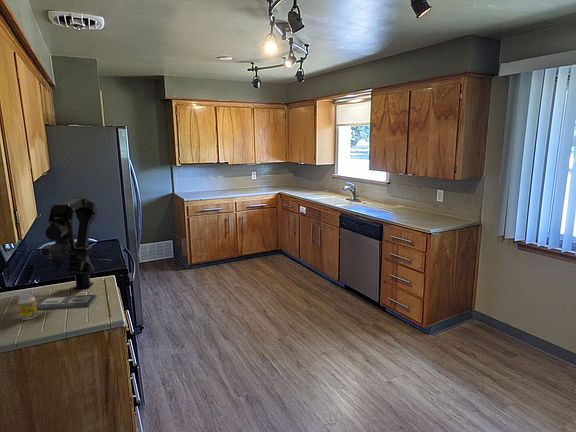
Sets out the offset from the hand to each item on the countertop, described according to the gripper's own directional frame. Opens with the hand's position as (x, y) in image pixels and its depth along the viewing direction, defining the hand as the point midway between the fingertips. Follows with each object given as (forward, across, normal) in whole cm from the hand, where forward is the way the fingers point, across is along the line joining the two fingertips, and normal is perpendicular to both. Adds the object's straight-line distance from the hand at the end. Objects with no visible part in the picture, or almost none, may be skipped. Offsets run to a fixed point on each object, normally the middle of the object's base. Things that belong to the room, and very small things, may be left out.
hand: (69, 270), depth 158 cm
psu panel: (+12, +1, -6) cm, 13 cm away
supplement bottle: (+12, -6, -18) cm, 23 cm away
